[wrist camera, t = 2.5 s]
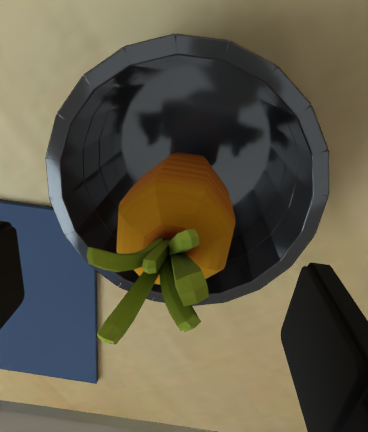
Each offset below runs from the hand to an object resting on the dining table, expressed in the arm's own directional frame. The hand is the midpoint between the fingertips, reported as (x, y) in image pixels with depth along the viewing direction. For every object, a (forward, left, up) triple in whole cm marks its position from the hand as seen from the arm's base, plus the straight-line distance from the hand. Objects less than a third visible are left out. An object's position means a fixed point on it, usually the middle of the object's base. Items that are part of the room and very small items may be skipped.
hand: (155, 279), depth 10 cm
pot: (0, 0, -13) cm, 13 cm away
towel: (+15, -15, -13) cm, 25 cm away
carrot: (0, 0, -13) cm, 13 cm away
